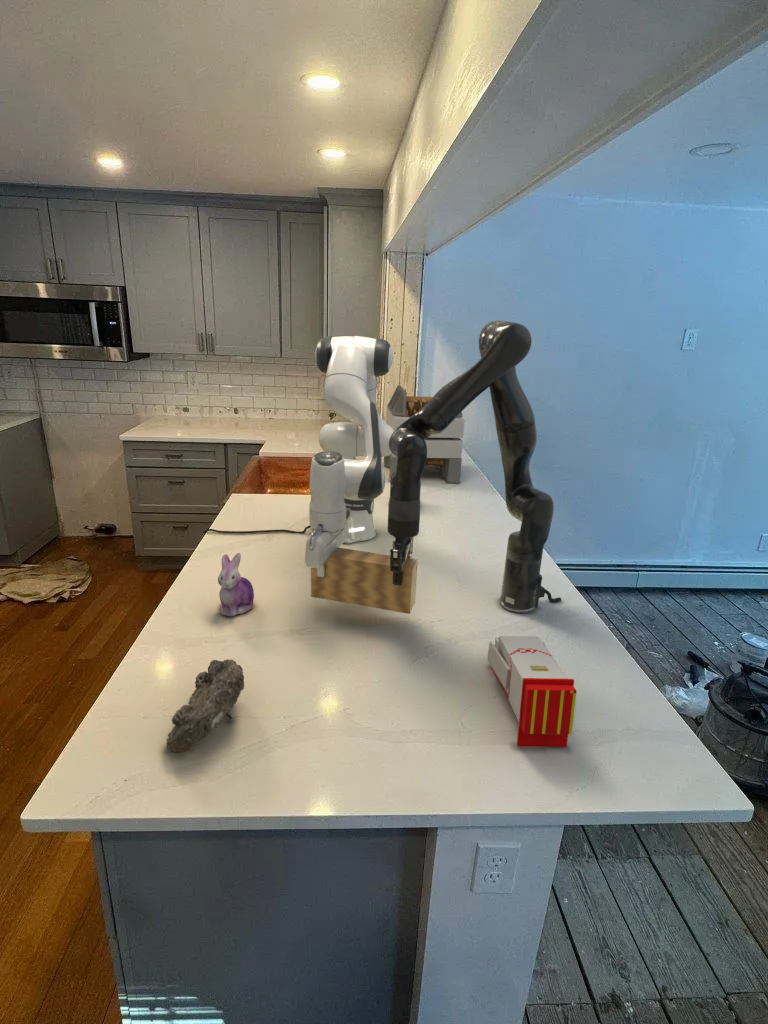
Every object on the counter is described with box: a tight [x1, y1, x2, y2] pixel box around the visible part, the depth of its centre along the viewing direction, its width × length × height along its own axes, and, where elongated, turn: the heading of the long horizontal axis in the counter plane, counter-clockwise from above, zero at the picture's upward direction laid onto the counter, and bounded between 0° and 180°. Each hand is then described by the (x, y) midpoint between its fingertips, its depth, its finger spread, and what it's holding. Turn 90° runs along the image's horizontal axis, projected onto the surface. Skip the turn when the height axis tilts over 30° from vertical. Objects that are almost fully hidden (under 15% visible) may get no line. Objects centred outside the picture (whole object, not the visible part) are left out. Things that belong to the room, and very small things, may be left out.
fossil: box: [166, 658, 245, 754], centre depth 106 cm, size 22×10×15 cm
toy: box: [486, 635, 577, 748], centre depth 115 cm, size 12×13×30 cm
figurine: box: [217, 552, 255, 617], centre depth 144 cm, size 9×10×15 cm
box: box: [310, 547, 419, 615], centre depth 142 cm, size 26×6×12 cm, turn 74°
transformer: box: [382, 384, 465, 484], centre depth 268 cm, size 34×33×41 cm
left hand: (326, 569), depth 144 cm, fingers closed on box, 6 cm apart
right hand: (400, 578), depth 139 cm, fingers closed on box, 6 cm apart
